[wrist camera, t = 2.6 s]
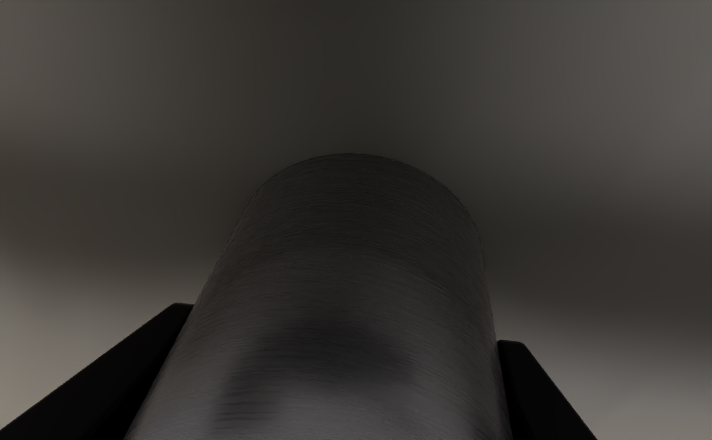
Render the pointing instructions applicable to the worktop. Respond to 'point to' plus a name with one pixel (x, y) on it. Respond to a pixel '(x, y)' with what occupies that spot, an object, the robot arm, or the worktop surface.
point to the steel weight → (338, 318)
